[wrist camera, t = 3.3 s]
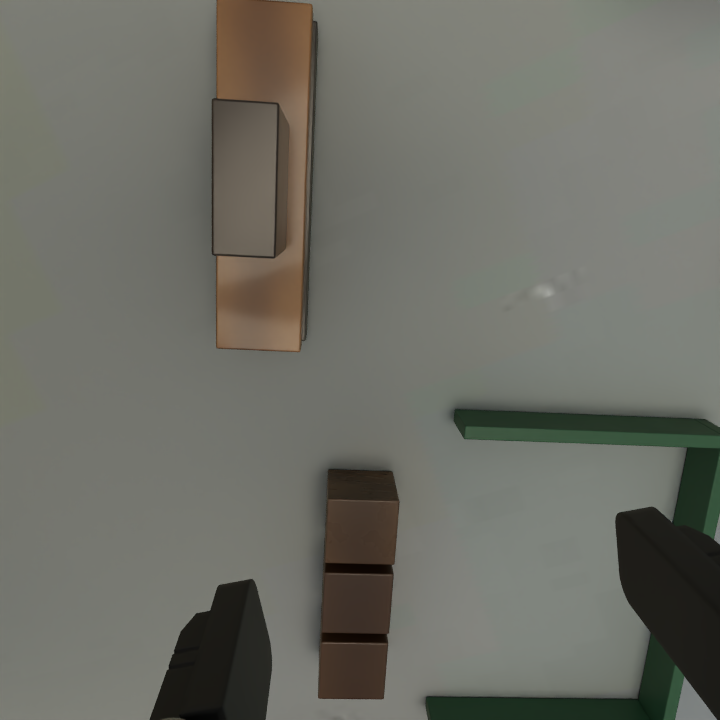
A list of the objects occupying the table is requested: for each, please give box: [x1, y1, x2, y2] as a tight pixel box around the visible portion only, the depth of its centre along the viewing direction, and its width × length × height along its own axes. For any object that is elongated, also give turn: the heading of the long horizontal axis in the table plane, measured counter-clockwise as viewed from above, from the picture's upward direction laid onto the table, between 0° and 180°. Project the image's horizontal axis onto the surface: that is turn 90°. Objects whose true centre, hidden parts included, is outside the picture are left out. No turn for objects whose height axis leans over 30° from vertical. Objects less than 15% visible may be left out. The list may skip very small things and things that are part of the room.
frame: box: [426, 409, 720, 720], centre depth 38 cm, size 16×22×3 cm
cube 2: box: [321, 541, 394, 634], centre depth 37 cm, size 4×4×4 cm
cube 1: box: [318, 604, 388, 699], centre depth 38 cm, size 4×4×4 cm
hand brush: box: [212, 0, 318, 352], centre depth 29 cm, size 5×17×10 cm, turn 177°
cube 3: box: [325, 469, 399, 565], centre depth 36 cm, size 4×4×4 cm
